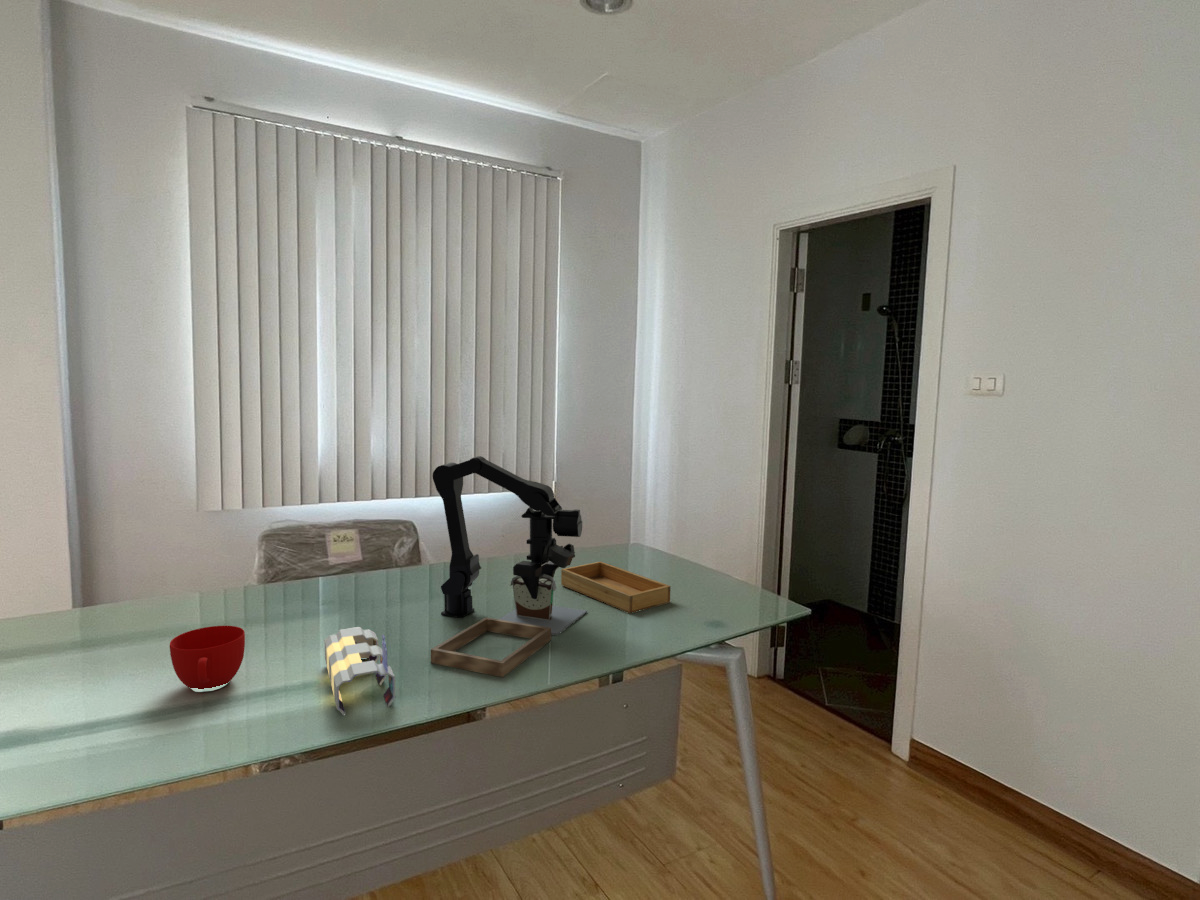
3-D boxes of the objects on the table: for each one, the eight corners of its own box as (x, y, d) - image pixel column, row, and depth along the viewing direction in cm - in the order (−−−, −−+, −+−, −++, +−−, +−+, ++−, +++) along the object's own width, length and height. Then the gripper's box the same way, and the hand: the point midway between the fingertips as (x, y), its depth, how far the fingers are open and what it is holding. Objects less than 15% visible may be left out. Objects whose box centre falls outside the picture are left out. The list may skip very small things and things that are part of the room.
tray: (670, 604, 189) (670, 584, 188) (629, 615, 180) (629, 594, 179) (600, 578, 213) (600, 561, 212) (561, 587, 203) (561, 569, 203)
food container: (564, 612, 177) (563, 575, 176) (554, 621, 172) (553, 583, 170) (522, 606, 182) (521, 570, 180) (511, 615, 176) (510, 578, 174)
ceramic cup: (162, 715, 124) (159, 662, 123) (178, 677, 139) (175, 630, 138) (242, 702, 129) (240, 651, 128) (249, 667, 145) (247, 621, 144)
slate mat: (492, 625, 171) (492, 622, 170) (527, 603, 187) (527, 601, 187) (556, 635, 164) (556, 633, 164) (587, 612, 180) (587, 610, 180)
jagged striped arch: (395, 707, 128) (394, 640, 127) (337, 719, 124) (335, 649, 122) (375, 658, 150) (373, 601, 149) (325, 667, 146) (323, 607, 145)
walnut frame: (430, 662, 148) (430, 649, 147) (485, 629, 168) (485, 617, 168) (502, 677, 141) (502, 663, 140) (551, 640, 161) (551, 628, 161)
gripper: (552, 546, 161) (552, 610, 163) (584, 530, 179) (584, 588, 180) (511, 541, 166) (512, 604, 167) (547, 526, 183) (547, 583, 184)
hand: (541, 594), depth 175 cm, fingers open, 7 cm apart
